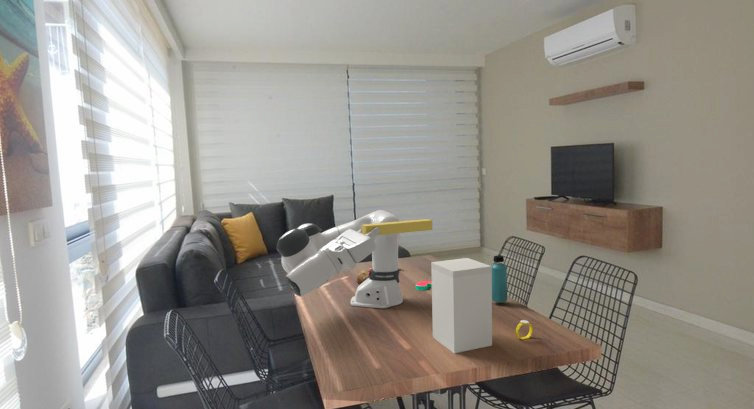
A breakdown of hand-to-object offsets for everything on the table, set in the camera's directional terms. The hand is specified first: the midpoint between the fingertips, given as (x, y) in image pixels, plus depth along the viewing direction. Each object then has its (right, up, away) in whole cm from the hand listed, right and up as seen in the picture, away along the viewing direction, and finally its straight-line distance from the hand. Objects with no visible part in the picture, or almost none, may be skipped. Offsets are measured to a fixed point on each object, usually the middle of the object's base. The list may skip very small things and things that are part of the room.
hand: (375, 227), depth 134 cm
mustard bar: (+7, -1, +3) cm, 7 cm away
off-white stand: (+28, -38, +14) cm, 50 cm away
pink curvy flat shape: (+28, -32, +80) cm, 91 cm away
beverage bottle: (+51, -34, +51) cm, 80 cm away
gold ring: (+49, -38, +15) cm, 64 cm away
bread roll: (-5, -32, +91) cm, 96 cm away
